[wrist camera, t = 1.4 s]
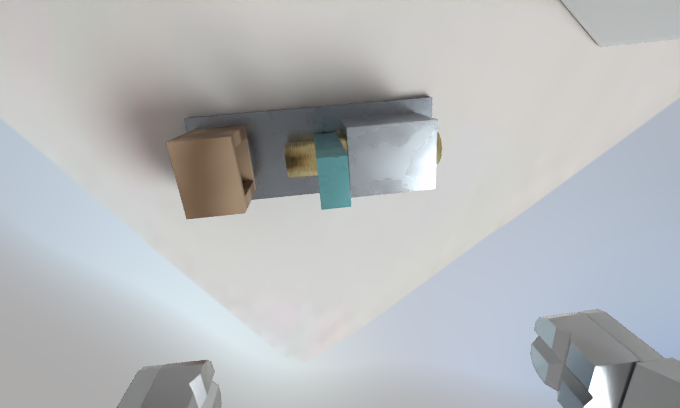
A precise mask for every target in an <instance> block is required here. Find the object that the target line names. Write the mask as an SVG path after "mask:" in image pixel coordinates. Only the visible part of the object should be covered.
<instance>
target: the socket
mask: <svg viewBox="0 0 680 408" xmlns="http://www.w3.org/2000/svg"><path fill="white" fill-rule="evenodd" d="M166 144H167V148H168V152H169V155H170V159H171V163H172V167H173V170H174V174H175V178H176V181H177V185H178V189H179V193H180V196H181V200H182V204H183V207H184V211H185V215H186V219H194V218H203V217H213V216H223V215H232V214H242V213H245V212H246V210H247V208H248V206H249V203H250V201H251V199H252V197H253V195H254V193H255V190H256V187H255V181H254V175H253V170H252V164H251V159H250V153H249V147H248V142H247V136H246V131H245V125H243V126H232V127H221V128H209V129H198V130H192V131H190V132H187V133H185V134H183V135H181V136H179V137H177V138H174V139H172V140H170V141H168V142H166Z"/></svg>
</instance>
